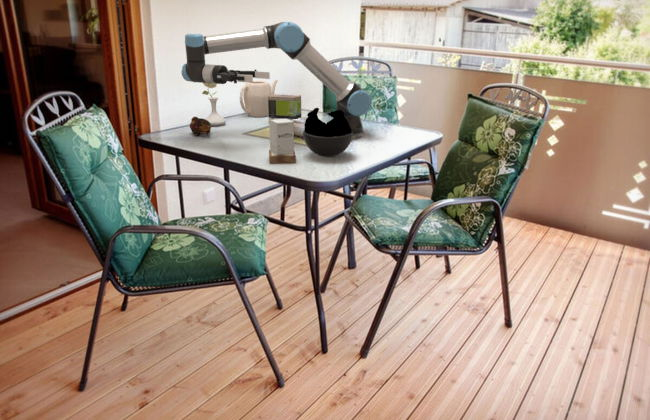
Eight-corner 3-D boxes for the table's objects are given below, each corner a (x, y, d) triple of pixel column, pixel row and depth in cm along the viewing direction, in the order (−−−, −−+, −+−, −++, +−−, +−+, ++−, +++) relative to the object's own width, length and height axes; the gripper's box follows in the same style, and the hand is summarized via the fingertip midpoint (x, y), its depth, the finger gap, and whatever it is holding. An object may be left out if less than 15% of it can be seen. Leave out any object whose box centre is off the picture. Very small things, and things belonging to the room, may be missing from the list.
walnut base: (294, 156, 201) (293, 149, 200) (295, 163, 192) (295, 155, 191) (269, 157, 200) (268, 149, 199) (269, 163, 191) (269, 156, 189)
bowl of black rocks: (359, 160, 197) (361, 113, 190) (311, 164, 190) (312, 115, 183) (341, 148, 214) (342, 104, 207) (296, 152, 208) (296, 106, 201)
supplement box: (276, 155, 190) (276, 122, 186) (269, 151, 196) (268, 119, 192) (294, 153, 193) (294, 121, 189) (286, 149, 199) (286, 117, 195)
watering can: (286, 114, 287) (286, 81, 280) (249, 120, 270) (248, 84, 263) (269, 110, 297) (268, 78, 291) (232, 116, 280) (231, 82, 273)
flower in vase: (230, 124, 259) (228, 75, 250) (215, 128, 250) (211, 77, 241) (212, 121, 265) (209, 73, 256) (196, 125, 256) (192, 75, 247)
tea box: (301, 123, 265) (301, 94, 260) (294, 126, 256) (294, 97, 251) (276, 120, 270) (275, 93, 264) (268, 124, 261) (267, 95, 255)
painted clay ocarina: (201, 130, 244) (201, 114, 241) (218, 138, 234) (218, 121, 231) (183, 132, 237) (183, 115, 234) (200, 140, 228) (200, 122, 225)
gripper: (233, 80, 219) (275, 83, 211) (198, 87, 197) (245, 90, 190) (232, 62, 216) (275, 65, 209) (197, 67, 195) (244, 70, 187)
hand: (261, 77), depth 199 cm, fingers open, 13 cm apart
